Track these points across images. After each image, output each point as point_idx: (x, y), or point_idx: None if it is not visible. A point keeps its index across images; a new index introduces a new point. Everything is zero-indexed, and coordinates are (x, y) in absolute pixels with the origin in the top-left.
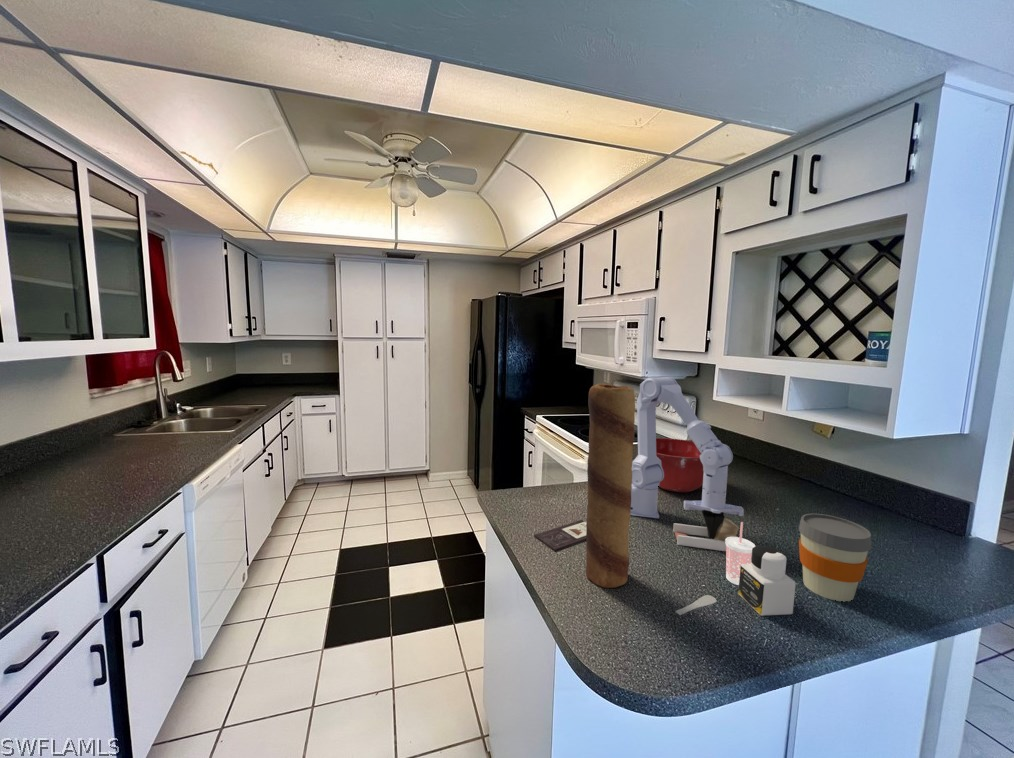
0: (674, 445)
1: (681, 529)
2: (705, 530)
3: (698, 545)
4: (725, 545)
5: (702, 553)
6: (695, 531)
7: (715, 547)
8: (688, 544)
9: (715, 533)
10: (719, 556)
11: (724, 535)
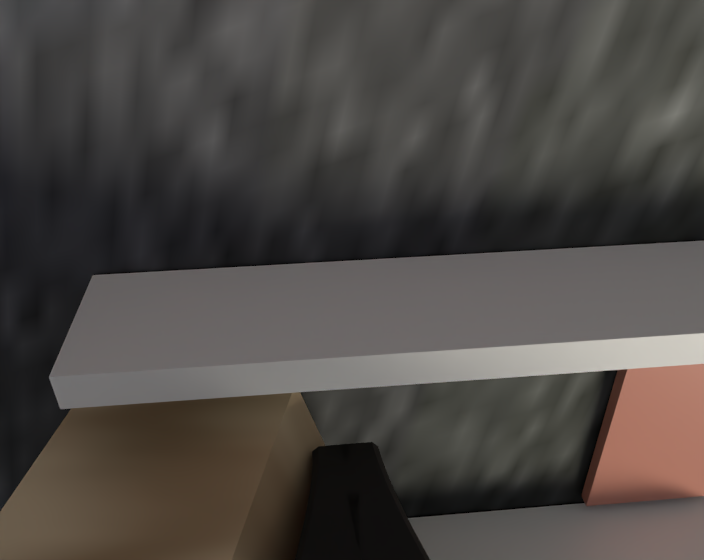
0: None
1: (650, 541)
2: None
3: (562, 265)
4: (156, 328)
5: (549, 87)
6: (488, 554)
7: (313, 284)
8: (698, 257)
9: (303, 526)
10: (284, 74)
11: (151, 522)
